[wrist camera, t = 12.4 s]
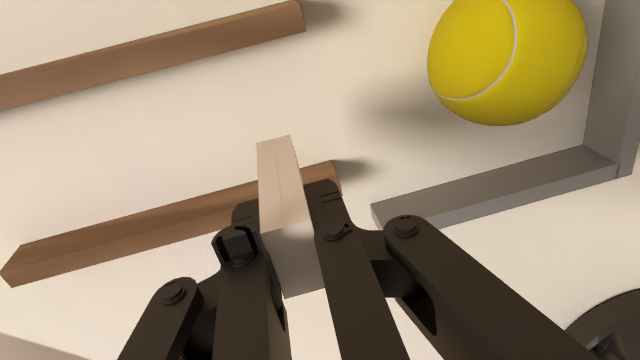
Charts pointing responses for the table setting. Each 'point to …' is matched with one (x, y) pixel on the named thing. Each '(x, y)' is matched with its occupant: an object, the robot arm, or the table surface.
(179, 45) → the chute
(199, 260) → the table surface
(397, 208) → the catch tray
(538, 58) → the tennis ball
